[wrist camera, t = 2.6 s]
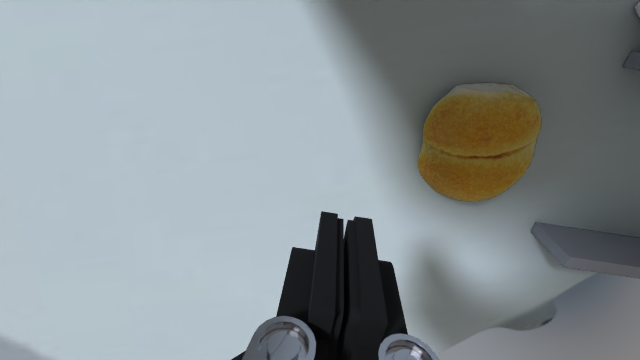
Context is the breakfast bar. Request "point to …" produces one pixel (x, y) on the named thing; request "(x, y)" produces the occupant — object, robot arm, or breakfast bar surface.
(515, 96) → the bread roll
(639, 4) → the spoon rest
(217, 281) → the breakfast bar surface
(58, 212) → the breakfast bar surface
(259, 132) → the breakfast bar surface
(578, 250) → the box
